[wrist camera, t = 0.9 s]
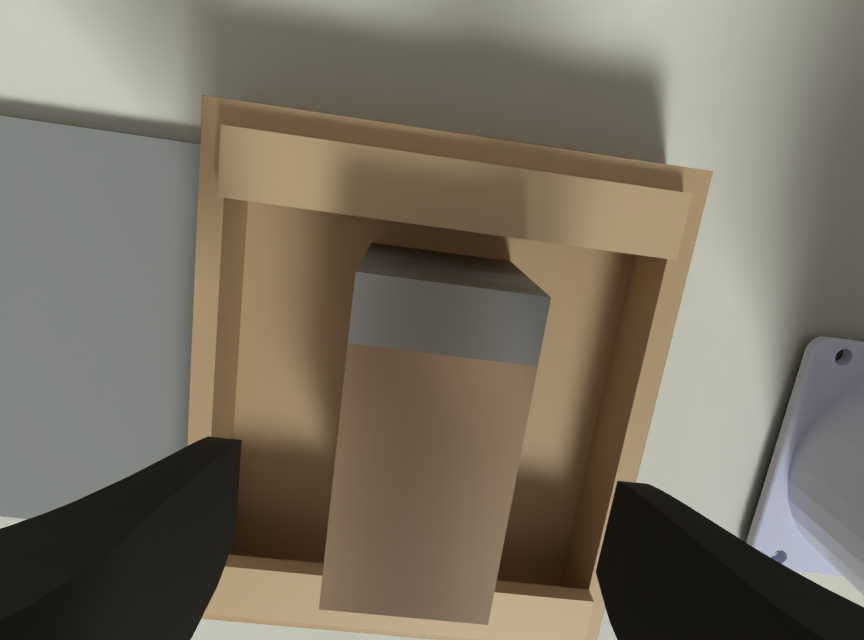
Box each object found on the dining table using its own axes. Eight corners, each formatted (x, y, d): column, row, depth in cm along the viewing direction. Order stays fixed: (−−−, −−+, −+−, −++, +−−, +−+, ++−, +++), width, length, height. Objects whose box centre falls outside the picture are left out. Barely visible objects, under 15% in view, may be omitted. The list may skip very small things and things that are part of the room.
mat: (218, 146, 16) (213, 146, 16) (199, 528, 19) (195, 535, 19) (-47, 108, 16) (-59, 107, 15) (-26, 505, 18) (-35, 512, 18)
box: (510, 261, 17) (551, 297, 12) (467, 507, 19) (487, 625, 14) (371, 242, 17) (355, 271, 12) (342, 494, 18) (318, 609, 14)
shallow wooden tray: (667, 171, 17) (723, 171, 14) (570, 593, 20) (598, 667, 17) (235, 107, 16) (194, 92, 13) (210, 558, 19) (173, 630, 16)
